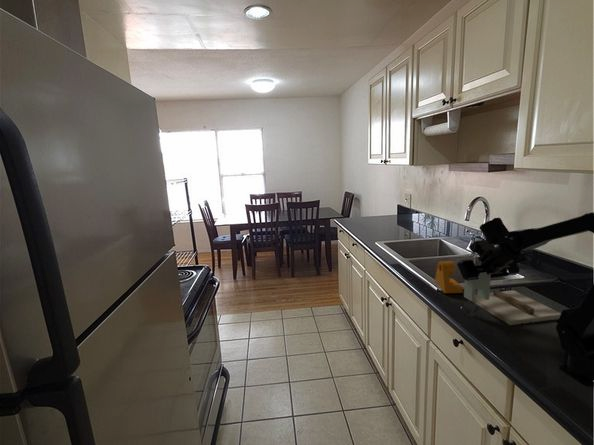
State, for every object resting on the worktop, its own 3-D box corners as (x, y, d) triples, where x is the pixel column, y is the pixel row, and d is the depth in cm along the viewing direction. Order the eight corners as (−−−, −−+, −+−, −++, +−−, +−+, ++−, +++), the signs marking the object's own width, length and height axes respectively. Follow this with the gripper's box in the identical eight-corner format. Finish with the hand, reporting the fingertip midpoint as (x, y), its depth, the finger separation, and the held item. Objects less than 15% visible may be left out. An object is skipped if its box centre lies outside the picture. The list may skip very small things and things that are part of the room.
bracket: (463, 294, 126) (465, 265, 124) (444, 295, 127) (445, 266, 125) (452, 284, 137) (453, 257, 135) (434, 284, 138) (435, 257, 135)
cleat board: (562, 318, 106) (563, 308, 105) (509, 325, 103) (510, 315, 102) (513, 293, 125) (514, 285, 124) (468, 299, 123) (468, 290, 122)
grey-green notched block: (489, 299, 110) (491, 269, 108) (471, 301, 109) (473, 271, 107) (480, 294, 114) (482, 266, 112) (463, 296, 113) (465, 267, 111)
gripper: (515, 232, 104) (488, 255, 117) (462, 236, 102) (440, 260, 114) (534, 262, 98) (503, 284, 111) (478, 268, 95) (453, 289, 108)
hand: (474, 278), depth 111 cm, fingers closed on grey-green notched block, 6 cm apart
